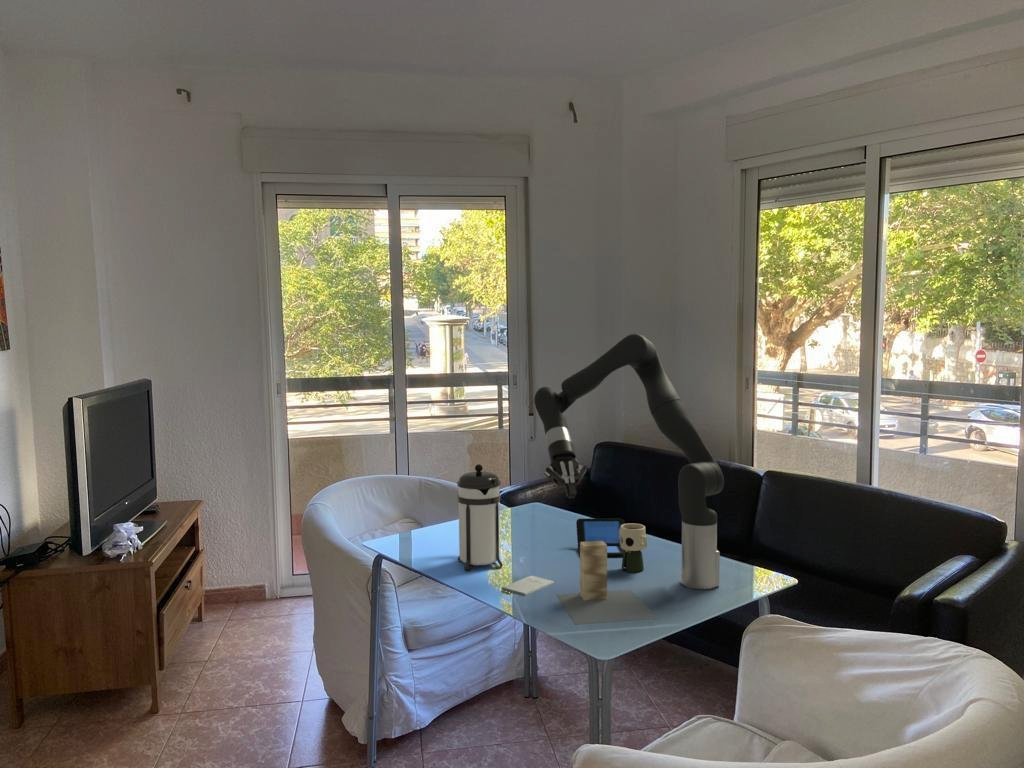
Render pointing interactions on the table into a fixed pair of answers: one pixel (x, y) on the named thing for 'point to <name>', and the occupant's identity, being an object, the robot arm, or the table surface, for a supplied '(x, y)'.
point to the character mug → (632, 546)
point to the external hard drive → (527, 585)
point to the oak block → (593, 570)
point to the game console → (601, 533)
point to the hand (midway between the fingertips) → (572, 496)
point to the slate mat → (605, 608)
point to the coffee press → (479, 518)
